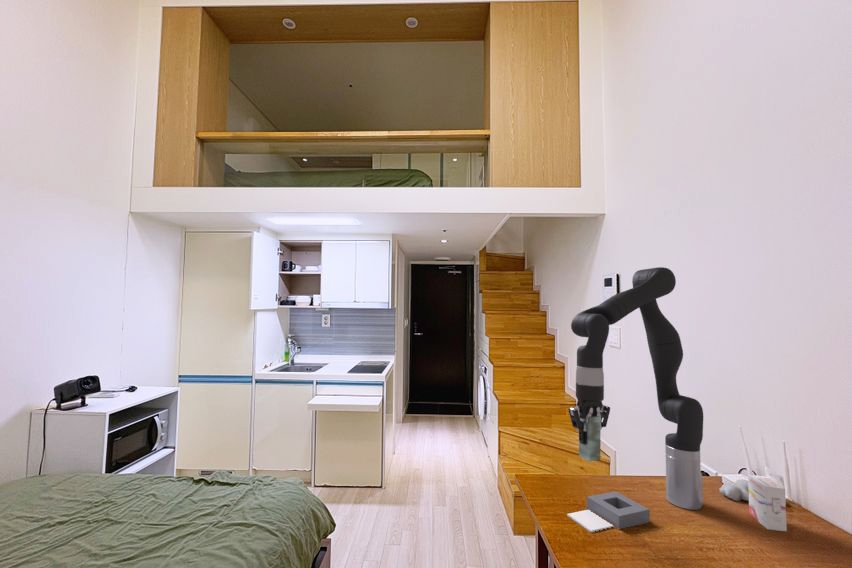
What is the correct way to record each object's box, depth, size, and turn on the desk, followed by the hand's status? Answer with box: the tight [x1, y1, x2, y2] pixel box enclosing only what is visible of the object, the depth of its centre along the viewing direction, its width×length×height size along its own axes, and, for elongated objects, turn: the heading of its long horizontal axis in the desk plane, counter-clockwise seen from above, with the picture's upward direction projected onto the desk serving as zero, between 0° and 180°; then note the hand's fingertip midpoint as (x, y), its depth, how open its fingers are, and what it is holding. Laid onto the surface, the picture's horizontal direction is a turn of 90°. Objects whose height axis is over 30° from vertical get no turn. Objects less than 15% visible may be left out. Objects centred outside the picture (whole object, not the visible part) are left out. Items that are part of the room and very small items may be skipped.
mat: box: [566, 509, 614, 534], centre depth 107 cm, size 8×9×1 cm
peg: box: [578, 416, 601, 462], centre depth 109 cm, size 4×4×12 cm
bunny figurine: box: [719, 479, 749, 502], centre depth 125 cm, size 10×5×15 cm
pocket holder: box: [586, 490, 650, 530], centre depth 111 cm, size 12×12×4 cm
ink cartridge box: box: [747, 465, 788, 532], centre depth 110 cm, size 9×5×15 cm, turn 168°
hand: (589, 442), depth 109 cm, fingers closed on peg, 4 cm apart
